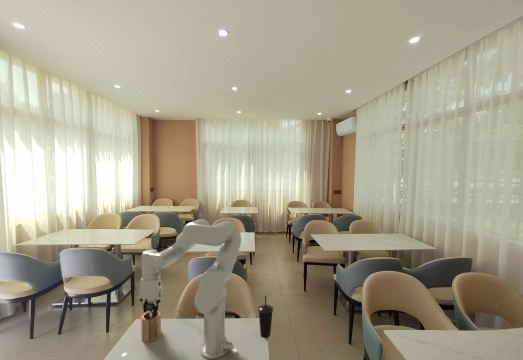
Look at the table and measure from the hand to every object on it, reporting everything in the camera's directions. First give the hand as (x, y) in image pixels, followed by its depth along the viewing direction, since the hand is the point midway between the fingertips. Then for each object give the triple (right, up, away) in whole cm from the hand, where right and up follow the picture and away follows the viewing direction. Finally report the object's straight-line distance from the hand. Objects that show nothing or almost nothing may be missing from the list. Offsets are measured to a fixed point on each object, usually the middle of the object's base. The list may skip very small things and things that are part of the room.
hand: (150, 311), depth 129 cm
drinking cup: (+57, -13, +2) cm, 58 cm away
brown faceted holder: (0, -13, +1) cm, 13 cm away
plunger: (0, -11, +1) cm, 11 cm away
